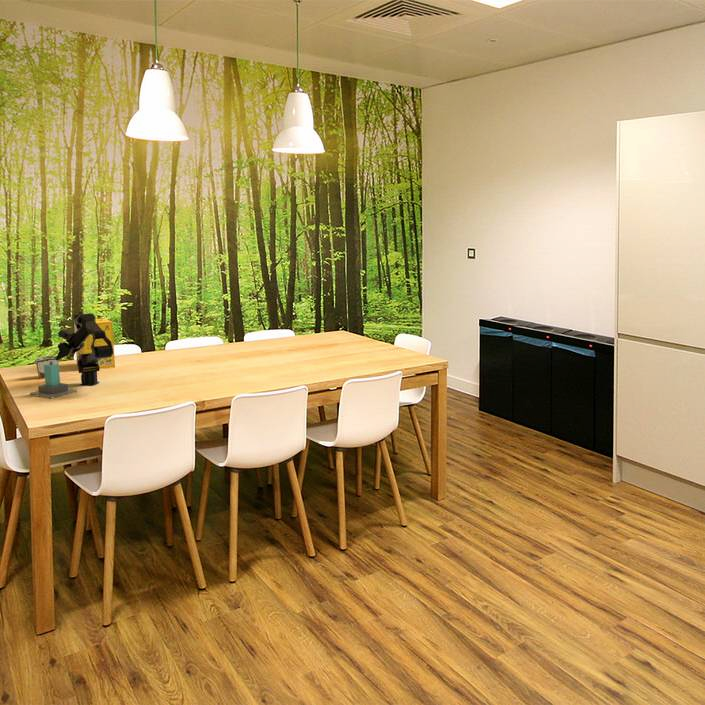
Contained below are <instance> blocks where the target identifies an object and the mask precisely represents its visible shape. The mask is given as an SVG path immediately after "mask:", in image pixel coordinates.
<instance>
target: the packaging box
mask: <svg viewBox="0 0 705 705" xmlns="http://www.w3.org/2000/svg"><path fill="white" fill-rule="evenodd" d="M95 319H96V323H97V324H98V326H99V327H100V328H101V329H102V330H104V331H105V334H106V337H107V338H108V339H109V340H110V341H111V343H112V348H113V355H112V357H110V358H102V359H101V360H99V361H98V364H99V367H100V368H105V369H111V368H110V367H114V368H116V362H115V346H114V345H115V344H114V326H113V321H111V320H109V319H107V318H105V317H103V318H95ZM73 327H74V328H73V330H74V333H75V332H76V331H77V330H78V329H77V327H76V325H75V323H74V322H73ZM92 342H93V337H92V335H91V334H90V335H89V336H88V337H87V339H86V341H85V342H83V343H84V345H85V346H84V347H83V348H82V349H80V350H79V351H77V352H75V357H76V363H77V362H78V359H79V357H80V355H82V354H88V353H92V350H91V345H92ZM104 345H108V344H107V343H106V342H105V341H104V340H103V339H95V342H94V347H95V346H104ZM79 348H80V347H79ZM92 368H93V367H92ZM83 369H85V368H83Z"/></svg>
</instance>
